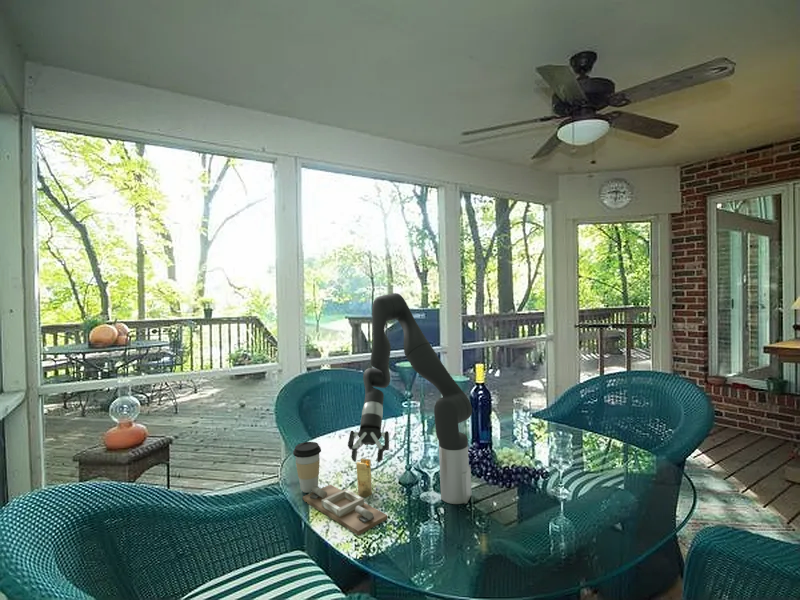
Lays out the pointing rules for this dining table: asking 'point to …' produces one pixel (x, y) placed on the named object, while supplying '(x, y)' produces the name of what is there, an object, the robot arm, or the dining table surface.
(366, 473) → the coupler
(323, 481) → the dining table surface
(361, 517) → the clamping jig board
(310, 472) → the coffee cup
